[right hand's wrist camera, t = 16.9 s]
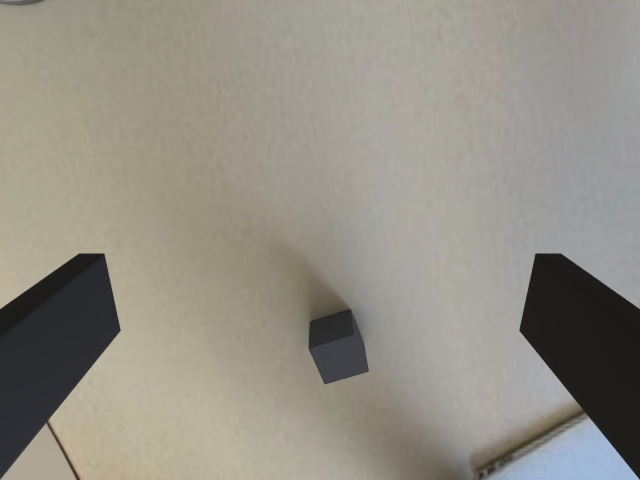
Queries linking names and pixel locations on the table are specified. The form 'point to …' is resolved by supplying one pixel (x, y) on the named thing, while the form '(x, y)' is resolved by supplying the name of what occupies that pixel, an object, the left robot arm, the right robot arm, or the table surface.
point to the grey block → (337, 347)
